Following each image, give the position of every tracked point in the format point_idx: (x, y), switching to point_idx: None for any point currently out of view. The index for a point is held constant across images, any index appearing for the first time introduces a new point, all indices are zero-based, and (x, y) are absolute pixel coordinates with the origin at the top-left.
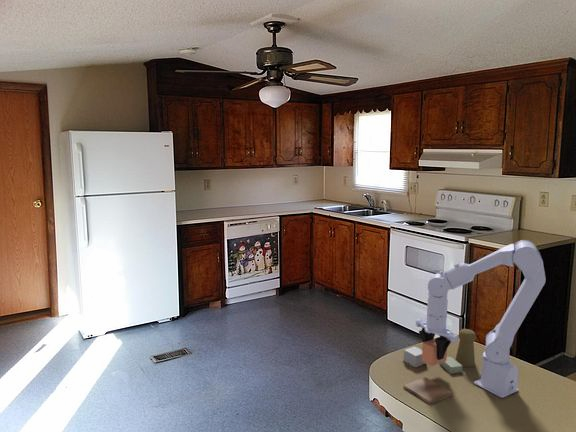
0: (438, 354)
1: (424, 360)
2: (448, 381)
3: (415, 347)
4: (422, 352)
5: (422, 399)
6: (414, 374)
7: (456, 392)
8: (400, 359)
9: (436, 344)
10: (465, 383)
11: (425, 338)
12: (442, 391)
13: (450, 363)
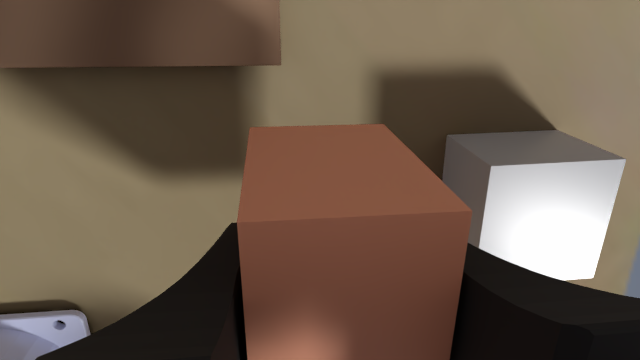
0: (218, 247)
1: (351, 130)
2: (178, 192)
3: (579, 268)
4: (407, 152)
5: None
6: (380, 48)
7: (23, 127)
8: (584, 126)
9: (218, 314)
10: (108, 268)
11: (496, 307)
12: (24, 5)
13: None
